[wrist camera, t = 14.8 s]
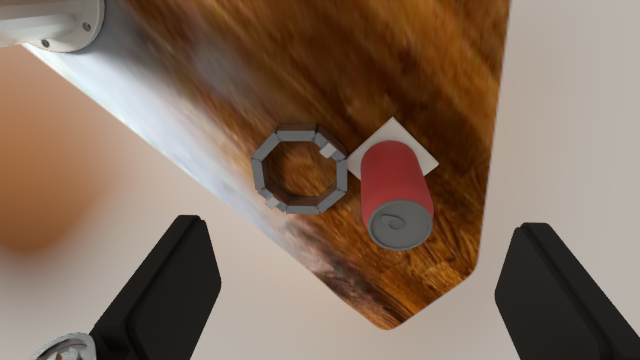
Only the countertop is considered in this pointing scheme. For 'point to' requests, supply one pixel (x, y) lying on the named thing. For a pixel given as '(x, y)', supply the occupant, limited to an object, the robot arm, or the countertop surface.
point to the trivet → (394, 133)
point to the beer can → (395, 196)
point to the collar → (328, 149)
